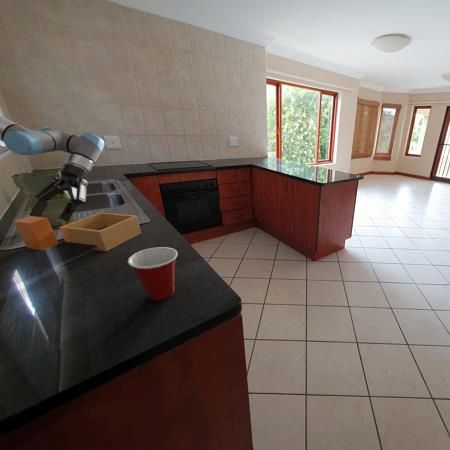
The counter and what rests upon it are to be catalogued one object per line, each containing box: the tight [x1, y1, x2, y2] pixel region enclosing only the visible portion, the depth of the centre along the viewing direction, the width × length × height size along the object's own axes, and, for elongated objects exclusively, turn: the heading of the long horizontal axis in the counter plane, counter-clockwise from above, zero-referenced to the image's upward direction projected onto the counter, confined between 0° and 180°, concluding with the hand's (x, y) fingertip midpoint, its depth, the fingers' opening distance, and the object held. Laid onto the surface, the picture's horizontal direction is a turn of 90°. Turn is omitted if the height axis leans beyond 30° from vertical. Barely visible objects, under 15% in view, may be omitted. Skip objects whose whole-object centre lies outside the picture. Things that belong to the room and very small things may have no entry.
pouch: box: [11, 168, 77, 231], centre depth 97 cm, size 11×12×25 cm
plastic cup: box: [127, 246, 179, 301], centre depth 62 cm, size 11×11×12 cm
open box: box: [59, 212, 142, 252], centre depth 92 cm, size 18×16×8 cm
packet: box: [12, 215, 60, 251], centre depth 82 cm, size 7×5×12 cm
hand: (48, 218), depth 85 cm, fingers open, 13 cm apart
